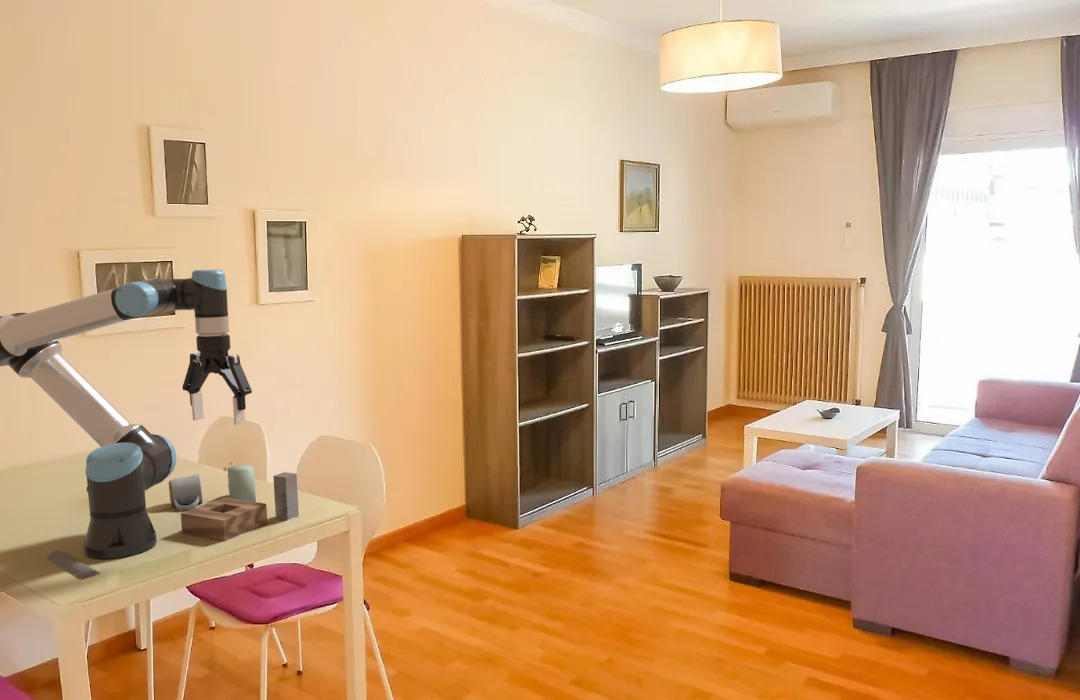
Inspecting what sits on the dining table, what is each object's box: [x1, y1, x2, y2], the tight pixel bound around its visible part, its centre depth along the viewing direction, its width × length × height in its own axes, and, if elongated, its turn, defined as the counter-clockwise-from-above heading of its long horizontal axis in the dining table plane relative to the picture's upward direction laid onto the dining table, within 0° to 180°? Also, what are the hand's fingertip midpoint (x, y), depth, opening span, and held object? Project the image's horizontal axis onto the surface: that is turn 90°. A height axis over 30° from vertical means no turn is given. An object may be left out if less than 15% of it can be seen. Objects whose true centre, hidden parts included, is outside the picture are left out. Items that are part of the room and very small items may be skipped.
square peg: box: [273, 471, 300, 521], centre depth 221 cm, size 4×4×11 cm
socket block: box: [180, 497, 268, 542], centre depth 213 cm, size 14×14×5 cm
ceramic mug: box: [168, 473, 203, 511], centre depth 233 cm, size 11×8×8 cm
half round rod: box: [46, 550, 100, 580], centre depth 190 cm, size 4×20×2 cm, turn 49°
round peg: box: [227, 464, 257, 502], centre depth 229 cm, size 6×6×11 cm
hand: (218, 421), depth 210 cm, fingers open, 13 cm apart
